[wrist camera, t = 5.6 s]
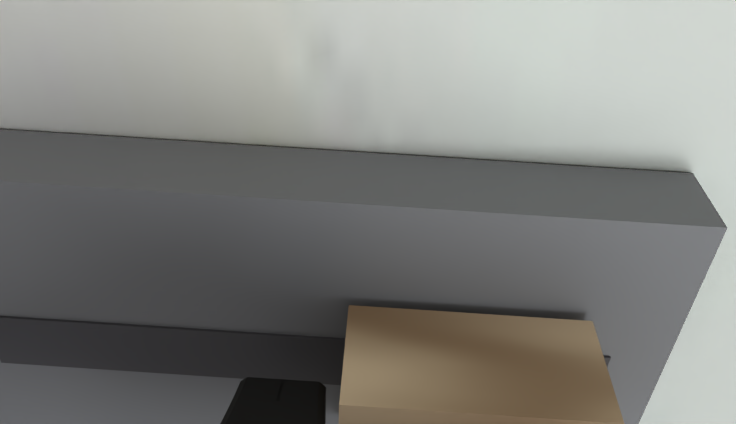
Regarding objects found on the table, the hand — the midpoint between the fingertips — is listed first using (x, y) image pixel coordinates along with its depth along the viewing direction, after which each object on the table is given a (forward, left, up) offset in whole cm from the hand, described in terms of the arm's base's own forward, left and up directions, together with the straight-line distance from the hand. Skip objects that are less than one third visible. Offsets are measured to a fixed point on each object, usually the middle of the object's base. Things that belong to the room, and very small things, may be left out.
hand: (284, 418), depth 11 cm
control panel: (0, -7, -3) cm, 8 cm away
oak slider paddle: (+3, 0, -1) cm, 3 cm away
